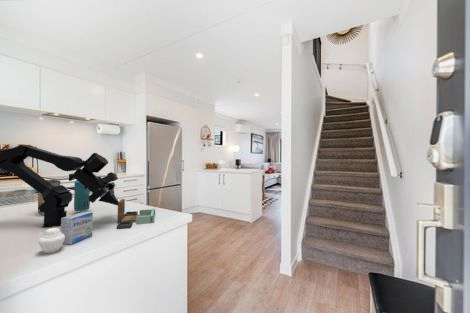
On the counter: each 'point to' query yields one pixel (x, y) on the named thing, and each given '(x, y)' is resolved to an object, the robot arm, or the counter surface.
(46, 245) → the white lidded jar
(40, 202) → the coffee box
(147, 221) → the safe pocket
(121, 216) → the bookend
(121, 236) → the counter surface
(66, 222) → the medicine box
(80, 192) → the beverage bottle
